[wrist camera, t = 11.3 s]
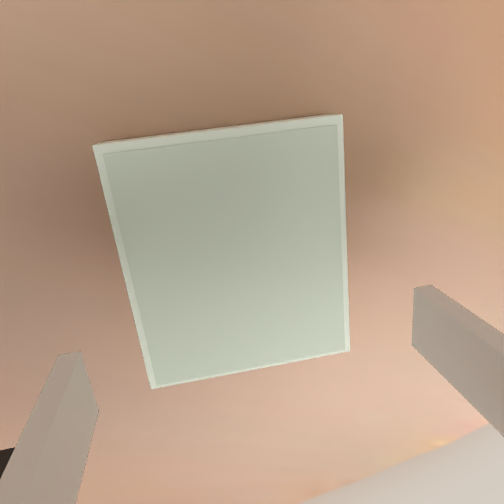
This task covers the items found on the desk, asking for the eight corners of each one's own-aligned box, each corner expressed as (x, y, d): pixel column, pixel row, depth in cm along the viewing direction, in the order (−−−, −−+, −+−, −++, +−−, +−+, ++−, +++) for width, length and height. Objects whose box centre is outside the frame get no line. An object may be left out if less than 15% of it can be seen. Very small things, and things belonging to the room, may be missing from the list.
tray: (153, 366, 29) (150, 393, 26) (101, 142, 24) (90, 145, 21) (336, 332, 31) (352, 354, 28) (327, 114, 25) (345, 114, 23)
